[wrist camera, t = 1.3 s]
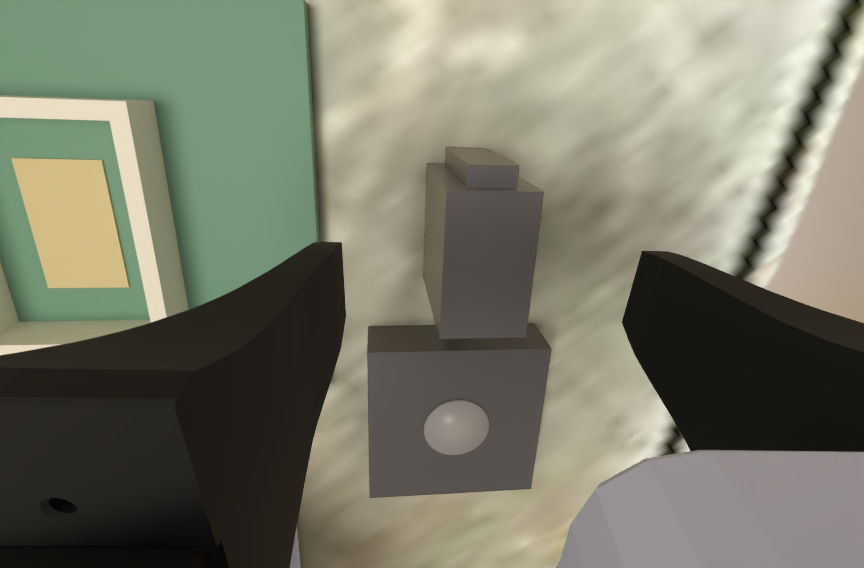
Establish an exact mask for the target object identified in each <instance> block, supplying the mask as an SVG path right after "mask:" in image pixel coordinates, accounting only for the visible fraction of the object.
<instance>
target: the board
mask: <svg viewBox="0 0 864 568" xmlns="http://www.w3.org/2000/svg"><path fill="white" fill-rule="evenodd" d="M314 242H320V232H319V213H318V195H317V176H316V157H315V139H314V120H313V101H312V82H311V64H310V45H309V26H308V8H307V3H306V2H305V1H304V0H0V355H5V354H12V353H18V352H23V351H29V350H34V349H40V348H45V347H51V346H56V345H62V344H67V343H73V342H77V341H82V340H87V339H91V338H95V337H99V336H104V335H108V334H112V333H116V332H120V331H124V330H127V329H131V328H134V327H138V326H142V325H145V324H148V323H152V322H154V321H157V320H160V319H163V318H166V317H169V316H172V315H175V314H178V313H181V312H184V311H187V310H189V309H192V308H195V307H197V306H200V305H202V304H204V303H207V302H209V301H211V300H214V299H216V298H218V297H221V296H223V295H225V294H227V293H229V292H231V291H233V290H235V289H237V288H239V287H241V286H243V285H244V284H246V283H248V282H250V281H251V280H253V279H255V278H257V277H258V276H260V275H262V274H264V273H266V272H267V271H269V270H271V269H272V268H274V267H275V266H277V265H278V264H280V263H282V262H283V261H285V260H286V259H288V258H289V257H291V256H293V255H294V254H296V253H297V252H299V251H300V250H302V249H303V248H305V247H307V246H308V245H310V244H312V243H314Z"/></svg>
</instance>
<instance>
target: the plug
mask: <svg viewBox="0 0 864 568" xmlns="http://www.w3.org/2000/svg"><path fill="white" fill-rule="evenodd" d="M518 173H519V165H517V164H515V163H513V162H511V161H509V160H507V159H505V158H503V157H501V156H499V155H497V154H495V153H493V152H491V151H489V150H487V149H485V148H450V147H446V154H445V164H438V163H427V170H426V202H425V234H424V266H423V277H424V281H425V285H426V289H427V293H428V297H429V300H430V304H431V308H432V312H433V316H434V320H435V324H436V328H437V331H438V335H439V339H461V338H511V337H526V332H527V324H528V316H529V308H530V299H531V291H532V283H533V275H534V267H535V259H536V250H537V242H538V234H539V226H540V218H541V210H542V202H543V193H544V192H543V191H541V190H540V189H538V188H536V187H535V186H533V185H531V184H529V183H528V182H526V181H524V180H523V179H521V178H519V177H518Z"/></svg>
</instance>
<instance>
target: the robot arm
mask: <svg viewBox="0 0 864 568" xmlns="http://www.w3.org/2000/svg"><path fill="white" fill-rule="evenodd" d="M345 318H346V310H345V293H344V275H343V258H342V243H340V242H314V243H312V244H310V245H308V246H307V247H305V248H303V249H302V250H300V251H299V252H297V253H296V254H294V255H293V256H291V257H289V258H288V259H286V260H285V261H283V262H282V263H280V264H278V265H277V266H275V267H274V268H272V269H271V270H269V271H267V272H266V273H264V274H262V275H260V276H258V277H257V278H255V279H253V280H251V281H250V282H248V283H246V284H244V285H243V286H241V287H239V288H237V289H235V290H233V291H231V292H229V293H227V294H225V295H223V296H221V297H218V298H216V299H214V300H211V301H209V302H207V303H204V304H202V305H200V306H197V307H195V308H192V309H189V310H187V311H184V312H181V313H178V314H175V315H172V316H169V317H166V318H163V319H160V320H157V321H154V322H152V323H148V324H145V325H142V326H138V327H134V328H131V329H127V330H124V331H120V332H116V333H112V334H108V335H104V336H99V337H95V338H91V339H87V340H82V341H77V342H73V343H67V344H62V345H56V346H51V347H45V348H40V349H34V350H29V351H23V352H18V353H12V354H5V355H0V568H301V562H300V551H299V540H298V530H297V521H298V515H299V510H300V504H301V499H302V493H303V488H304V482H305V477H306V472H307V467H308V462H309V457H310V451H311V446H312V441H313V437H314V434H315V430H316V426H317V422H318V419H319V416H320V413H321V410H322V407H323V404H324V400H325V397H326V394H327V391H328V388H329V385H330V382H331V378H332V375H333V372H334V369H335V366H336V362H337V359H338V356H339V353H340V349H341V343H342V338H343V331H344V325H345ZM622 323H623V326H624V329H625V331H626V334H627V337H628V340H629V342H630V344H631V347H632V349H633V351H634V354H635V356H636V358H637V359H638V361H639V363H640V365H641V366H642V368H643V370H644V372H645V373H646V375H647V377H648V378H649V380H650V382H651V383H652V385H653V387H654V388H655V390H656V392H657V393H658V395H659V397H660V398H661V400H662V402H663V403H664V405H665V407H666V408H667V410H668V412H669V413H670V415H671V416H672V418H673V420H674V421H675V423H676V425H677V426H678V428H679V430H680V432H681V434H682V435H683V437H684V439H685V441H686V443H687V445H688V447H689V449H690V452H684V453H678V454H672V455H666V456H659V457H653V458H647V459H644V460H642V461H640V462H639V463H637V464H635V465H633V466H631V467H629V468H628V469H626V470H624V471H622V472H620V473H618V474H617V475H615V476H613V477H611V478H609V479H608V480H606V481H604V482H602V483H600V485H599V486H598V487H597V488H596V490H595V491H594V492H593V494H592V495H591V497H590V498H589V499H588V501H587V502H586V503H585V505H584V506H583V508H582V509H581V510H580V512H579V513H578V515H577V516H576V517H575V519H574V520H573V522H572V523H571V525H570V528H569V532H568V535H567V539H566V542H565V545H564V549H563V552H562V556H561V559H560V561H559V563H558V565H557V567H556V568H864V323H861V322H858V321H855V320H851V319H848V318H845V317H842V316H839V315H835V314H832V313H829V312H826V311H823V310H820V309H817V308H814V307H811V306H808V305H805V304H803V303H800V302H797V301H794V300H792V299H789V298H787V297H784V296H781V295H779V294H776V293H773V292H771V291H769V290H766V289H764V288H761V287H759V286H756V285H754V284H751V283H749V282H746V281H744V280H742V279H739V278H737V277H735V276H732V275H730V274H727V273H725V272H723V271H720V270H718V269H715V268H713V267H711V266H708V265H706V264H703V263H701V262H698V261H696V260H693V259H690V258H688V257H685V256H682V255H679V254H675V253H671V252H664V251H642V253H641V257H640V260H639V264H638V267H637V271H636V275H635V278H634V282H633V285H632V289H631V292H630V296H629V299H628V303H627V306H626V310H625V313H624V317H623V321H622Z"/></svg>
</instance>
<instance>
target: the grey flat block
mask: <svg viewBox="0 0 864 568" xmlns="http://www.w3.org/2000/svg"><path fill="white" fill-rule="evenodd" d="M550 355H551V347H550V346H549V344H548V343H547V341H546V340H545V338H544V337H543V335H542V334H541V333H540V331H539V330H538V328H537V327H536V325H535V324H527V332H526V337H511V338H461V339H439V335H438V331H437V328H436V326H383V327H368V349H367V361H368V422H369V483H370V498H378V497H396V496H414V495H431V494H449V493H466V492H484V491H502V490H519V489H531V484H532V477H533V471H534V464H535V457H536V450H537V443H538V437H539V430H540V423H541V416H542V409H543V403H544V396H545V389H546V382H547V376H548V369H549V362H550Z"/></svg>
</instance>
